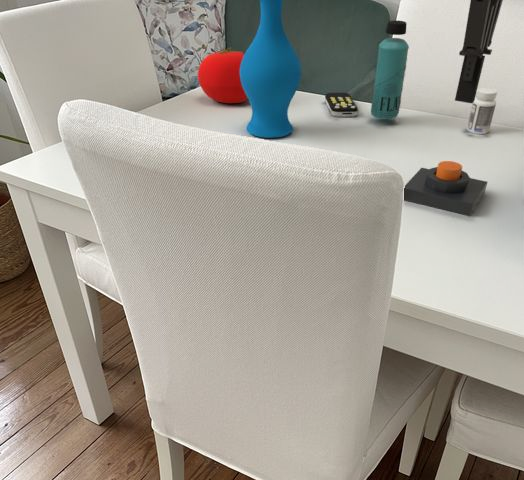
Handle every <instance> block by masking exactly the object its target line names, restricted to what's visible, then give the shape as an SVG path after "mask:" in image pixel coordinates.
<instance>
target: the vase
mask: <svg viewBox="0 0 524 480" xmlns="http://www.w3.org/2000/svg"><path fill="white" fill-rule="evenodd" d="M259 4H260V5H259V6H260V22H259V26H258V29H257V31H256V34H255V37H254V38H253V40H252V42H251V44H250V45H249V47H248V48H247V49H246V51H245V52H244V54H245V55H244V57H243V59H242V61H241V65H240V80H241V84H242V87H243V89H244V91H245V93H246V95H247V97H248V98H247V100H248V101H249V104H250V107H251V117H250V121H249V122H248V123H247V124H246V127H245V130H246V131H247V133H249V134H250V135H252V136H255V137H258V138H263V139H265V138H266V139H276V138H282V137H286V136H288V135H290V134H291V133H292V132H293V131H294V127H293V124H292V123H291V121H290V120H289V115H288V113H289V112H288V111H289V107H290V105H291V102H292V100H293V98H294V96H295V94H296V92H297V90H298V88H299V86H300V82H301V79H302V66H301V62H300V59H299V56H298V54H297V52H296V51H295V49H294V47H293V46H292V45H291V43H290V40H289V39H288V37H287V35H286V33H285V32H286V31H285V30H284V26H283V20H282V19H283V18H282V10H283V4H284V0H259Z"/></svg>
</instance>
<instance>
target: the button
mask: <svg viewBox="0 0 524 480" xmlns="http://www.w3.org/2000/svg"><path fill="white" fill-rule="evenodd" d="M436 167H437V172H436V177H438V178H440V179H444V180H453V181H455V180H459V179H460V175H461V171H463V165H462V164H461V163H459V162H456V161H453V160H443V161H440V162H438V164H437V166H436Z"/></svg>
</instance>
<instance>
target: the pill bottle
mask: <svg viewBox="0 0 524 480" xmlns="http://www.w3.org/2000/svg"><path fill="white" fill-rule="evenodd" d="M497 95H498V90H496V89H494V88H492V87H480V88H479V87H478V88H477V92H476V96H475V100H474V102H473V103H471V108H470V114H469V117H468V122H467V125H466V130H467V131H468V132H470V133H472V134H474V135H475V134H476V135H485V134H487V133H489V132H490V129H491V125H492V121H493V117H494V113H495V109H496V105H497V100H496V98H497Z"/></svg>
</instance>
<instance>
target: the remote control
mask: <svg viewBox="0 0 524 480" xmlns="http://www.w3.org/2000/svg"><path fill="white" fill-rule="evenodd" d="M324 101H325V103H326V105H327V108H328V111H329V112H330V114H331V116H333V117H335V118H344V117H345V118H346V117H347V118H349V117H350V118H351V117H355V116H357V115H358V113H359V107H358V106H357V105H356V103H355V101H354V99H353V98H352V96H351V94H350V93H348V92H328V93H325V95H324Z"/></svg>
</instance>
